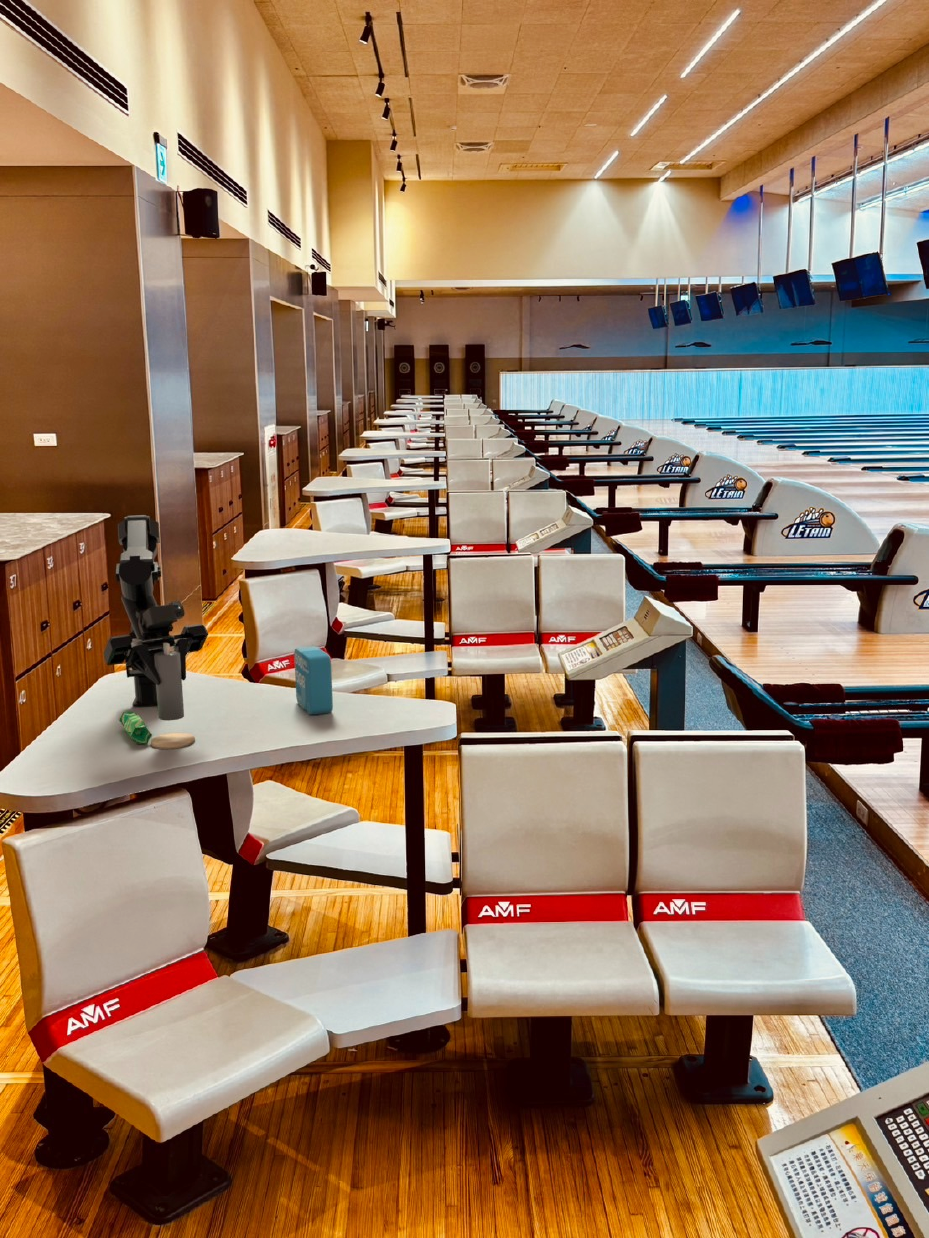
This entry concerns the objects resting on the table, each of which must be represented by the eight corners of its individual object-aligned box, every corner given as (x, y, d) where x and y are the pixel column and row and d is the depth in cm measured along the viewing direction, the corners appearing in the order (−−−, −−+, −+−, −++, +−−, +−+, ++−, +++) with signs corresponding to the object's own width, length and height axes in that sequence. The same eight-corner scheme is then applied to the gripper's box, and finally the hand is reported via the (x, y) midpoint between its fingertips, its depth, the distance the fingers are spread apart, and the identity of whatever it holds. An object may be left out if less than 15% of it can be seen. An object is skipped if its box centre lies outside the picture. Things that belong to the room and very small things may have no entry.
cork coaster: (152, 737, 214) (152, 734, 214) (196, 734, 216) (196, 731, 216) (148, 750, 207) (148, 747, 207) (193, 747, 208) (193, 744, 208)
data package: (296, 702, 238) (293, 646, 235) (317, 699, 239) (314, 644, 237) (311, 716, 227) (309, 658, 224) (333, 714, 229) (331, 656, 226)
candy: (116, 725, 219) (126, 706, 220) (132, 732, 221) (142, 713, 221) (127, 742, 209) (138, 722, 209) (144, 749, 211) (154, 729, 211)
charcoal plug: (154, 716, 211) (149, 643, 208) (177, 712, 213) (173, 639, 211) (164, 722, 207) (159, 647, 204) (188, 717, 210) (183, 643, 207)
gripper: (104, 593, 203) (132, 664, 197) (201, 582, 214) (230, 648, 208) (92, 629, 211) (118, 699, 204) (186, 616, 222) (214, 682, 216)
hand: (171, 681), depth 208 cm, fingers closed on charcoal plug, 5 cm apart
